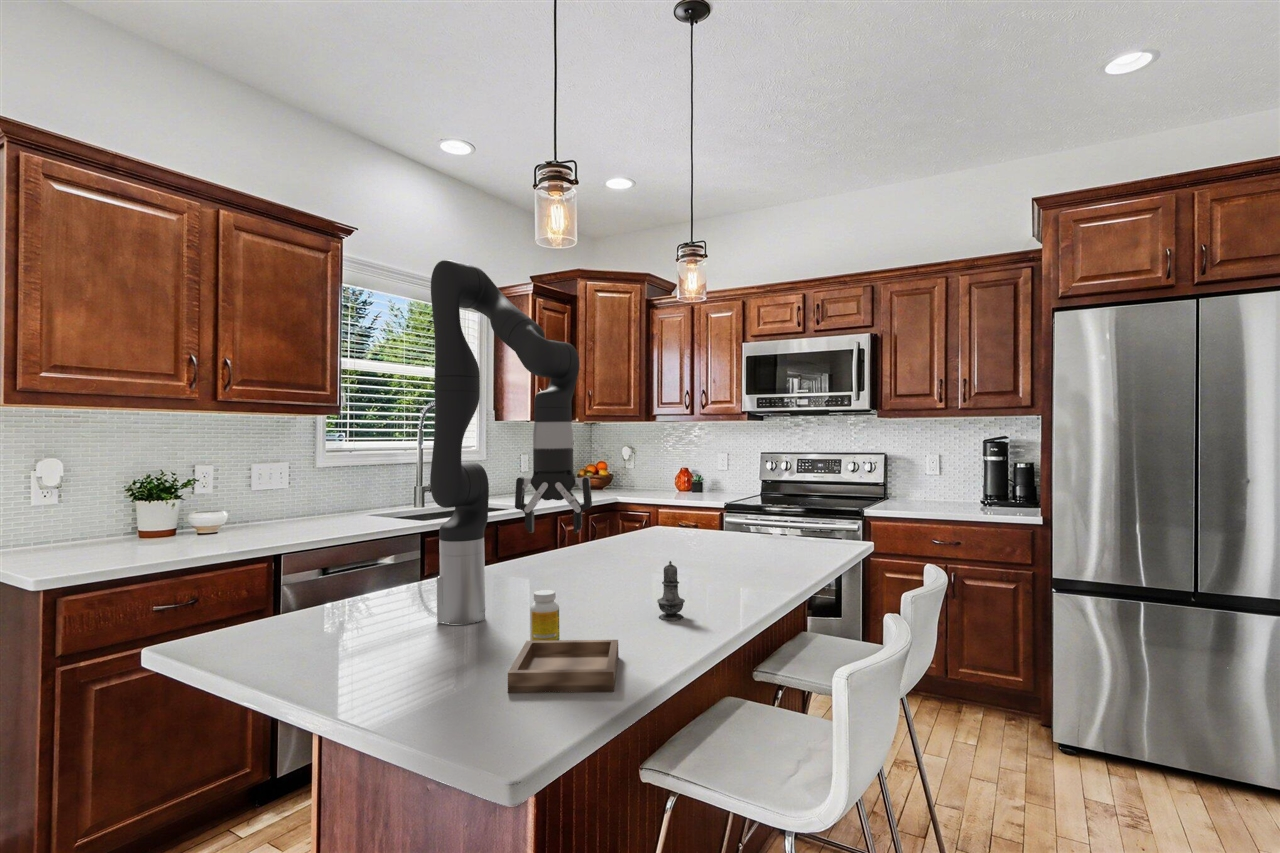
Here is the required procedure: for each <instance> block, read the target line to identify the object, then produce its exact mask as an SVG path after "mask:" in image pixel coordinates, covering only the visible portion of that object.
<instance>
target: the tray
mask: <svg viewBox="0 0 1280 853" xmlns="http://www.w3.org/2000/svg"><path fill="white" fill-rule="evenodd" d="M618 663H619V639H563V640H562V639H561V640H560V639H559V640H544V641H531V640H526V641H525V643H524V644H523V646H522V648H521V649H520V651H519V653H518V654H517V656H516V658H515V660H514V661H513V663H512V665H511V666H510V668H509V670H508V671H507V693H508V694H516V693H517V694H518V693H519V694H523V693H530V694H531V693H532V694H533V693H535V694H536V693H537V694H538V693H605V692H606V693H607V692H609V693H610V692H611V693H614V691H615V684H616V678H617V671H618Z"/></svg>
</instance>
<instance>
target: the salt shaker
mask: <svg viewBox="0 0 1280 853" xmlns="http://www.w3.org/2000/svg"><path fill="white" fill-rule="evenodd" d="M661 583H662V585H663V594H662V596H661V597H660V598H658V599H657V601H656V602H657V604H658V607H659V610H660V611H661V612H662V613H661V614H659V616H658V619H659V620H660V619H661V621H664V620H667V621H666V622H676V621H675V620H678V621H681V619H682V620H684V618H685V617H684V615H683V614H681V613H680V612H681V611H682V610H683V608H684V603H685V602H686V601H685V599H684V598H681V597H680V594H679V584H680V581H678V567H677V566H676V565H673V562H672V561H671V560H669V562H668V564H667V565H665V566H664V567H663V581H662V582H661Z"/></svg>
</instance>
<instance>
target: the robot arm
mask: <svg viewBox="0 0 1280 853" xmlns="http://www.w3.org/2000/svg"><path fill="white" fill-rule="evenodd" d="M430 299H431V308H432V319H433V320H432V321H433V330H434V332H433V333H434V380H433V381H434V384H433V385H434V387H433V388H434V390H433V391H434V427H433V428H434V431H433V432H434V433H433V434H434V435H433V445H432V457H431V465H430V476H429V485H430V486H429V487H430V493H431V497H432V499H433V501H434V502H435V504H436V505H437V506H439V507H440V508H445V509H447V508H454V512H453V514H452V516H451V517H449V519H448V520H447V521H444V523H442V524H441V525H440V527H439V529H438V530H439V531H438V532H439V533H438V536H439V537H438V538H439V544H438V545H439V546H438V547H439V548H438V549H439V550H438V551H439V575H438V576H437V577H436V623H437V622H444V623H449V624H466V625H470V624H469V623H473V624H476V623H475V622H477V623H480V622H482V621H484V620H485V619H486V576H485V575H486V572H485V571H486V570H485V567H486V565H485V563H486V562H485V559H486V558H485V530H486V527H487V524H488V521H489V520H488V519H489V495H490V491H489V490H490V489H489V488H490V487H489V485H490V484H489V478H488V475H487V472H486V469H485V468H484V466H482V465H481V464H480V463H478V462H474V461H466V462H463V461H462V452H463V450H462V449H463V441H464V438H465V434H466V432H467V430H468V428H469V425H470V423H471V421H472V419H473V417H474V416H475V413H476V411H477V409H478V405H479V403H480V397H481V396H480V394H481V391H480V390H481V389H480V388H481V387H480V386H481V384H480V383H481V381H480V380H481V379H480V376H481V374H480V368H479V364H478V361H477V359H476V357H475V355H474V352H473V350H472V349H471V347H470V345H469V343H468V341H467V339H466V337H465V335H464V332H463V329H462V325H461V314H460V312H461V311H460V308H461V309H471V310H474V311H475V312H478V313H481V314H482V315H483V316H486V318H487V319H489V322H490V326H491V329H492V330H493V332H494V334H495V336H496V337H497V338H499V340H500V341H501V342H502V343H503V344H505V345H507V347H508V348H510V349H511V350H512V351H513V352H515V354H516V356H517V357H518V359H519V361H520V362H521V364H522V365H523V367H524V368H525V369H526V370H527V371H528V372H529V373H531V374H532V375H534V376H537V377H541V378H549V383H548V386H547V388H546V389H545V390H542V391H539V392H537V393H536V394H535V396H534V401H533V402H534V403H533V406H534V407H533V408H534V409H533V410H534V412H533V414H534V415H533V416H534V418H533V419H534V421H533V422H534V423H533V424H534V425H533V432H532V462H533V463H532V468H533V469H532V470H533V473H532V477H530V478H529V477H524V476H520V477H517V478H516V479H515V496H514V508H515V509H516V510H519V511H523V513H524V528H525V530H527V531H528V533H530V534H532V533H534V532H535V511H534V509H535V508H536V507H537V505H538V504H539V503H540V502H541V500H544V501H552V500H553V501H554V500H555V501H562V500H565V501H566V502H567V504H569V505H570V507H571V508H572V509H573V511H574V512H573V515H572V516H573V518H572V521H573V522H572V523H573V533H574V534H578V533H579V531H580V530H582V527H583V512H584V511H586V510H589V509H590V508H591V507H592V506H593V501H592V500H593V497H592V486H591V484H592V483H591V477H589V476H583V477H576V476H575V474H574V446H575V445H574V442H575V440H574V431H573V423H572V420H573V419H572V418H573V417H572V416H573V415H572V411H573V410H572V400H573V396H574V393H575V388H576V384H577V380H578V377H579V370H580V356H579V353H578V350H577V349H576V348H575V346H574V345H573V344H571V343H569V342H567V341H558V340H552V339H547V338H546V336H545V332H544V329H543V328H542V326H540V325H539V324H538V323H537V322H536V321H535V320H534V319H532V318H531V317H529V316H528V315H527V314H526V313H524V311H522V310H521V309H519V308H518V307H516V305H514V303H512V301H510V300H509V299H508V298H507V297H506V296H505V294H504V293H503V292H502V290H500V289H499V288H498V286H497V285H496V284H495V283H494V281H493V280H492V279H491V278H490V277H489V276H488V275H487V273H486V272H485V271H483V270H482V269H481V268H480V267H477V266H474V265H471V264H467V263H464V262H459V261H454V260H451V259H443V260H440V261H438V262H437V263H436V265H435V266H434V267H433V270H432V274H431V278H430ZM530 484H531V487H532V488H533V489H534V490H535V493H534V494H533V495H532V497H531V498H530V500H529V502H528V503H525V493H526V489H528V488H529V485H530ZM576 485H577V486H578V488H579V489H581V490H582V494H583V495H582V496H583V503H581V502H580V501H579V500H578V498H577V497H576V495H574V493H573V492H572V490H573V488H574V487H575V486H576ZM483 619H484V620H483ZM481 620H482V621H481ZM479 621H480V622H479Z"/></svg>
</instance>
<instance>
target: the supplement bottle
mask: <svg viewBox="0 0 1280 853" xmlns="http://www.w3.org/2000/svg"><path fill="white" fill-rule="evenodd" d="M556 598H557V597H556V591H555V590H553V589H552V590H551V589H541V590H537V591H534V592H533V601H534V602H533V603H532V604H531V605H530V609H529V612H530V613H529V616H530V619H529V620H530V622H529V623H530V624H529V625H530V626H529V627H530V628H529V629H530V631H529V632H530V635H529V636H530V640H529V641H544V640H560V606H559V603H557V601H555V600H556Z"/></svg>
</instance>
